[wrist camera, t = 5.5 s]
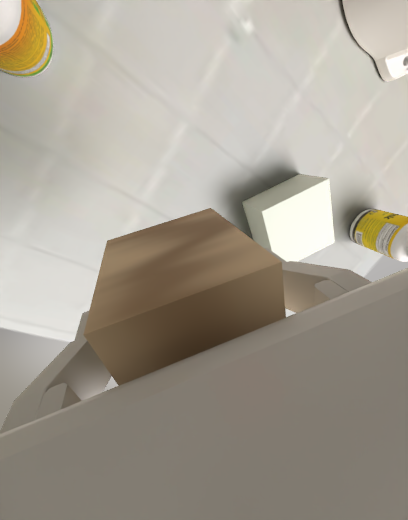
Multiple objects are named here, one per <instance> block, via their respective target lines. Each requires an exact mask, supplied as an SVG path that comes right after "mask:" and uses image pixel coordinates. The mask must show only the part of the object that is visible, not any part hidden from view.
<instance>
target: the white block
mask: <svg viewBox="0 0 408 520" xmlns="http://www.w3.org/2000/svg"><path fill="white" fill-rule="evenodd" d="M242 204H243V207H244V211H245V214H246V217H247V221H248V224H249V227H250V231H251V234H252V237H253V240H254V241H255V242H256V243H258V244H259V245H260V246H262V247H263V248H268V249H270V250H271V251H273V252H274V253H275V254H277V255H278V256H279V257H281V258H282V259H284V260H285V261H286V262H289V261H294V262H297V261H299V260H301V259H303V258H305V257H307V256H309V255H311V254H313V253H315V252H317V251H319V250H321V249H323V248H324V247H326V246H328V245H330V244H332V243H334V242H335V241H334V229H333V218H332V206H331V195H330V183H329V178H323V177H316V176H309V175H303V174H299V175H297V176H295V177H293V178H291V179H288V180H286V181H284V182H282V183H280V184H278V185H276V186H274V187H272V188H270V189H268V190H266V191H264V192H262V193H260V194H258V195H256V196H254V197H251V198H249V199H247V200H245V201H243V202H242Z"/></svg>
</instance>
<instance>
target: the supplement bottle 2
mask: <svg viewBox="0 0 408 520" xmlns="http://www.w3.org/2000/svg"><path fill="white" fill-rule="evenodd" d="M350 237H351V240H352V241H353V242H355V243H357V244H359V245H362V246H364V247H367V248H369V249H371V250H374V251H376V252H379V253H381V254H384V255H386V256H388V257H391V258H393V259H396V260H398V261H404V262H405V261H408V217H406V216H402V215H398V214H393V213H389V212H385V211H381V210H376V209H368V210H365V211H363V212H361V213H360V214H359V215H358V216H357V217H356V218H355V220H354V221H353V223H352V225H351V228H350Z"/></svg>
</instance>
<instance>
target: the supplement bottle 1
mask: <svg viewBox="0 0 408 520" xmlns="http://www.w3.org/2000/svg"><path fill="white" fill-rule="evenodd" d="M53 53H54V40H53V35H52V31H51V28H50V25H49V23H48V21H47V19H46V17H45V15H44V13H43V11H42V10H41V8H40V6H39V5H38V3H37V2H36V0H0V70H2V71H4V72H6V73H8V74H11V75H14V76H17V77H25V78H29V77H35V76H38V75H40V74H41V73H43V72H44V71H45V70H46V69H47V68H48V67H49V65H50V63H51V61H52V58H53Z"/></svg>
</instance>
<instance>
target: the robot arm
mask: <svg viewBox="0 0 408 520" xmlns="http://www.w3.org/2000/svg"><path fill="white" fill-rule="evenodd" d="M342 1H343V7H344V12H345V16H346V19H347V23H348V25H349V28H350V30H351V32H352V34H353V36H354V38H355V39H356V41H357V42H358V44H359V45H360V46H361V47H362V48H363V49H364V50H365V51H366V52H368V53H369V54H370V55H371V56H372V57H373V58H374V60H375V62H376V65H377V68H378V70H379V73H380V75H381V77H382V79H383V80H384V81H386V82H389V81H392V80H395V79H397V78H399V77H401V76H403V75H405V74H407V73H408V0H342ZM264 249H266V250H267V251H268V252H270V253H271V254H272V255H274V256H275V257H276V258H277V259H279V260H280V261H281V262H282V272H283V286H284V300H285V308H286V309H288V310H291V311H293V312H296V314H294V315H291V316H289V317H286V318H284V319H281V320H279V321H276V322H274V323H271V324H269V325H267V326H264V327H262V328H259V329H257V330H254V331H252V332H249V333H247V334H245V335H242V336H240V337H237V338H235V339H232V340H230V341H227V342H225V343H223V344H220V345H218V346H215V347H213V348H210V349H208V350H205V351H203V352H200V353H198V354H196V355H193V356H191V357H188V358H186V359H183V360H181V361H178V362H176V363H173V364H171V365H169V366H166V367H164V368H161V369H159V370H156V371H154V372H151V373H149V374H146V375H144V376H142V377H139V378H137V379H134V380H132V381H129V382H127V383H124V384H122V385H119V386H117V387H115V388H112V389H110V390H107V391H105V392H103V391H104V389H105V387H106V385H107V383H108V381H109V380H110V378H111V376H112V375H111V374H110V372H109V371H108V370H107V368H106V367H105V365H104V364H103V362H102V361H101V359H100V358H99V357H98V355H97V354H96V352H95V351H94V349H93V348H92V347H91V345H90V344H89V342H88V341H87V339H86V338H85V336H84V335H83V334H84V330H85V326H86V323H87V319H88V315H89V311H90V310H89V311H87V312H84V313H83V314H82V317H81V320H80V324H79V327H78V331H77V334H76V337H75V341H73V342H70V343H69V344H68V345H67V346H66V348H65V349H64V350H63V351H62V352H61V353H60V354H59V355H58V356H57V357H56V358H55V359H54V360H53V361H52V362H51V363H50V364H49V365H48V366H47V367H46V368H45V369H44V370H43V371H42V372H41V373H40V375H39V376H38V377H37V378H36V379H35V380H34V381H33V382H32V383H31V384H30V385H29V386H28V387H27V388H26V389H25V390H24V391H23V392H22V393H21V394H20V395H19V396H18V397H17V398H16V399H15V400H14V402H13V405H12V406H11V409H10V411H9V413H8V415H7V417H6V420H5V422H4V424H3V426H2V428H1V430H0V520H408V268H406V269H404V270H401V271H399V272H397V273H394V274H392V275H389V276H387V277H384V278H382V279H379V280H377V281H375V282H370V281H369V280H367V279H365V278H363V277H362V276H360V275H358V274H356V273H354V272H353V271H351V270H348V269H341V268H334V267H328V266H321V265H314V264H308V263H301V262H294V261H289V262H286V261H285V260H284V259H282V258H281V257H279V256H278V255H277V254H275V253H274V252H273V251H271V250H270V249H268V248H264Z"/></svg>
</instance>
